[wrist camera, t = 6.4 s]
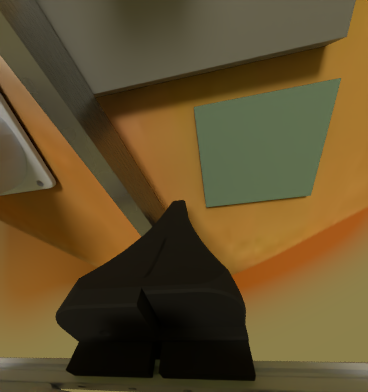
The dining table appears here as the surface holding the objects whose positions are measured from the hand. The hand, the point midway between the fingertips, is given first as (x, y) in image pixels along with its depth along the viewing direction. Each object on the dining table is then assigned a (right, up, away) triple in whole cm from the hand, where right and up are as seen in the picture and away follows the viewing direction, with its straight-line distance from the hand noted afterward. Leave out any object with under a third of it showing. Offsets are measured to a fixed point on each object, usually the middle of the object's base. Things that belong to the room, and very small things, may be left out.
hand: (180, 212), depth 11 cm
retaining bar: (-4, +5, -2) cm, 6 cm away
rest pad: (+5, +4, 0) cm, 6 cm away
